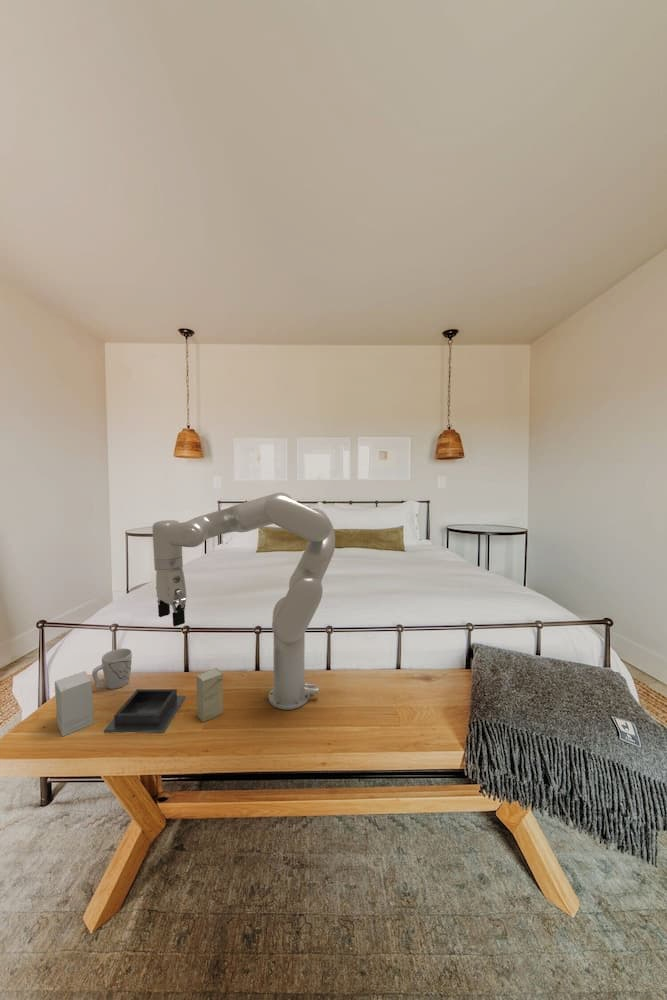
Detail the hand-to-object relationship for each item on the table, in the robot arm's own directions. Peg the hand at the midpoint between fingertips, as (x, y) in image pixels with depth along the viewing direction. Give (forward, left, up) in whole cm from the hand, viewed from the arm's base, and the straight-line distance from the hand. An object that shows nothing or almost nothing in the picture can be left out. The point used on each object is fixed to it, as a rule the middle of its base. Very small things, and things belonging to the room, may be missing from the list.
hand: (171, 620), depth 109 cm
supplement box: (+24, +8, -27) cm, 37 cm away
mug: (+24, -10, -27) cm, 37 cm away
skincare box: (-12, +4, -27) cm, 30 cm away
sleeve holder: (+6, +4, -26) cm, 27 cm away
